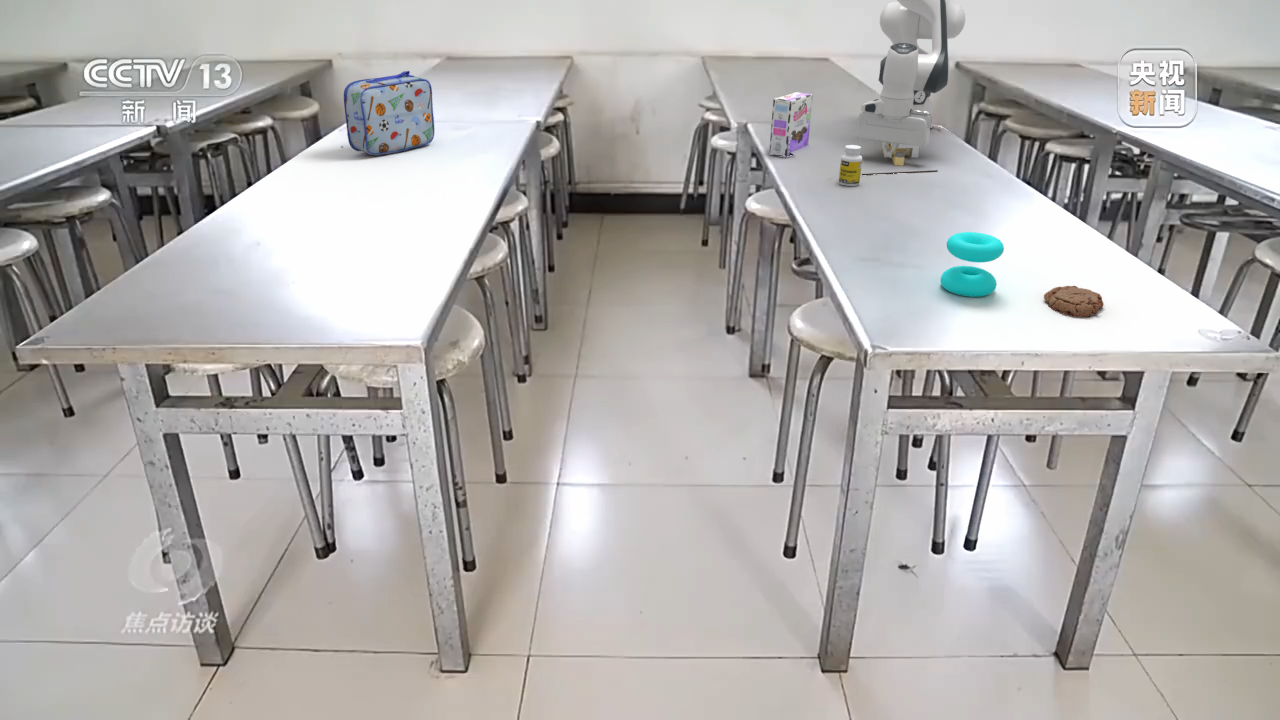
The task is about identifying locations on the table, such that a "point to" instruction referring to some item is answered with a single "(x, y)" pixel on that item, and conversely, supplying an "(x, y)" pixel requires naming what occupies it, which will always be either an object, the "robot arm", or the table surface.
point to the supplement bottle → (850, 166)
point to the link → (898, 155)
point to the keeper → (910, 150)
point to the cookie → (1074, 301)
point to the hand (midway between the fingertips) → (888, 157)
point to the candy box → (790, 123)
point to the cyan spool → (969, 277)
